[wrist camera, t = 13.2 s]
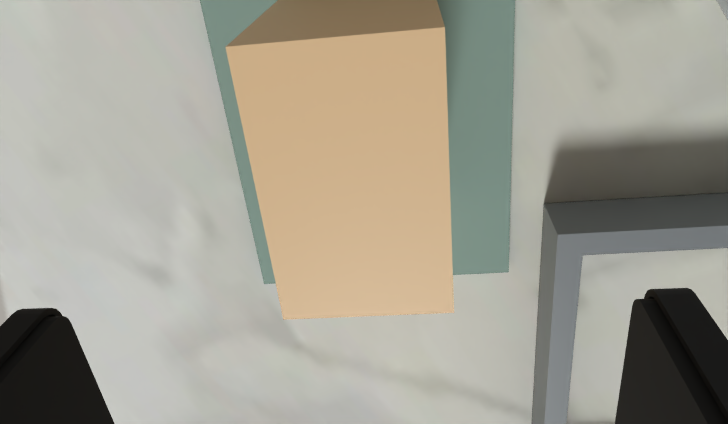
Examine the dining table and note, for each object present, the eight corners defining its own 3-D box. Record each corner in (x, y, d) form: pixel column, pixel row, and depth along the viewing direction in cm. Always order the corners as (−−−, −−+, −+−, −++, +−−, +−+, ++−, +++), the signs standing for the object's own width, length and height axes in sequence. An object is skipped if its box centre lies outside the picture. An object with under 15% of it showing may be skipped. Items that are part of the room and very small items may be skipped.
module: (430, -22, 20) (445, 27, 13) (438, 187, 24) (453, 312, 17) (286, -8, 20) (225, 47, 13) (318, 194, 24) (283, 319, 17)
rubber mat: (516, -194, 18) (519, -197, 17) (506, 264, 26) (508, 272, 25) (172, -150, 19) (165, -151, 18) (266, 276, 27) (264, 283, 26)
